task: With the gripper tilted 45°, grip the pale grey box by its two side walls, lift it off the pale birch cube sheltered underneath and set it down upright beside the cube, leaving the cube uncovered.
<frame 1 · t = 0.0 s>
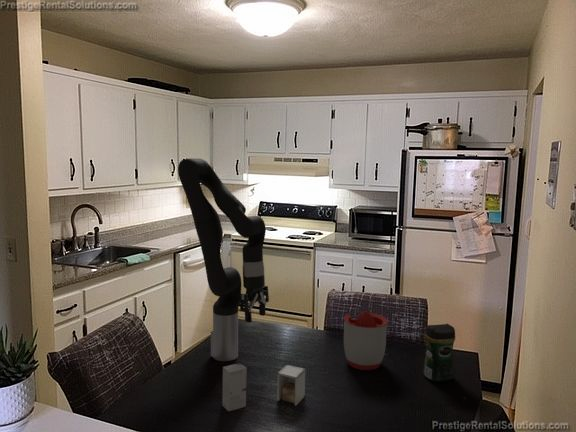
hand: (255, 318, 166), 17 cm above the table, tool pointing down, fingers open, 8 cm apart
cube: (291, 392, 145), in the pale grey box
skincare box: (234, 406, 140), on the table
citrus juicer: (362, 363, 172), on the table
coffee jar: (437, 377, 162), on the table
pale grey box: (291, 398, 145), on the table
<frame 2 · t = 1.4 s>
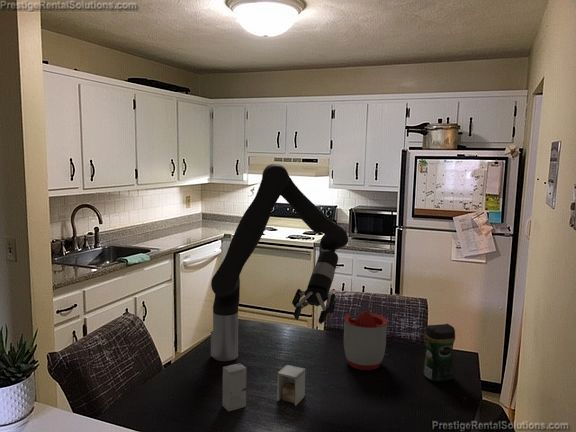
hand: (307, 320, 153), 21 cm above the table, tool tilted 45°, fingers open, 8 cm apart
nothing on the table moved.
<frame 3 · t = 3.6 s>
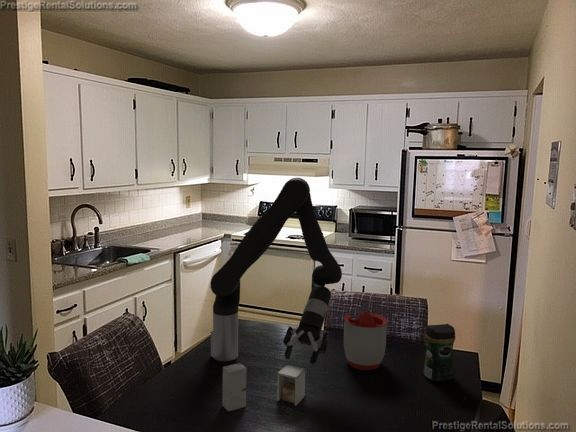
hand: (299, 361, 149), 10 cm above the table, tool tilted 45°, fingers open, 8 cm apart
nothing on the table moved.
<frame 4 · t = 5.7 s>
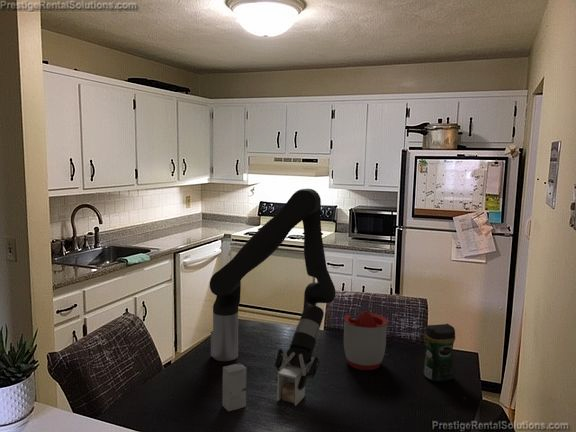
hand: (289, 386, 143), 5 cm above the table, tool tilted 45°, fingers closed on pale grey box, 6 cm apart
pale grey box: (291, 398, 145), on the table, touching gripper
everything else where it was.
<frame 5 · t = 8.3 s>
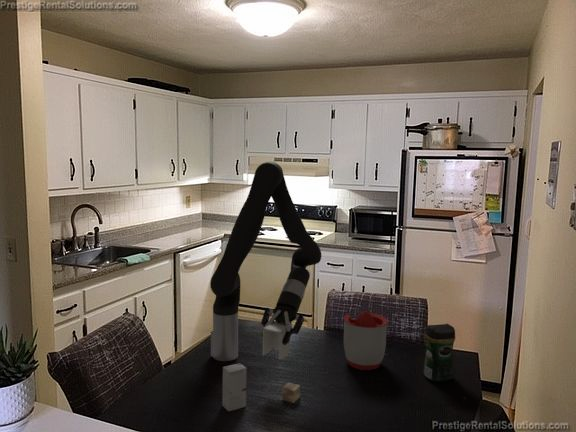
hand: (274, 341, 149), 16 cm above the table, tool tilted 45°, fingers closed on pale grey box, 6 cm apart
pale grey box: (276, 353, 151), point 11 cm above the table, touching gripper
everything else where it was.
when the fingers open (6 cm above the table, at t = 11.2 s): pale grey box stays where it is, on the table.
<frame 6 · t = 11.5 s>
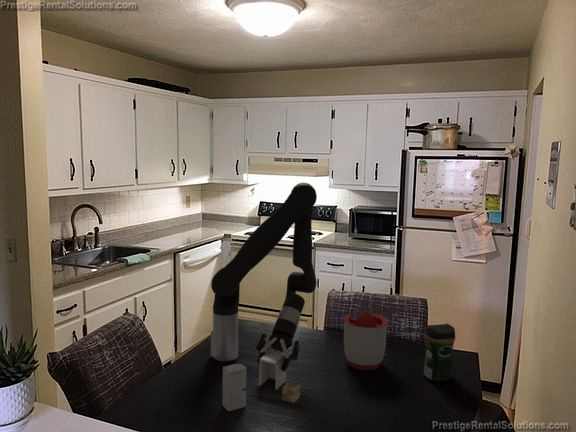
hand: (270, 367, 153), 6 cm above the table, tool tilted 45°, fingers open, 8 cm apart
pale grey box: (272, 383, 155), on the table
everything else where it was.
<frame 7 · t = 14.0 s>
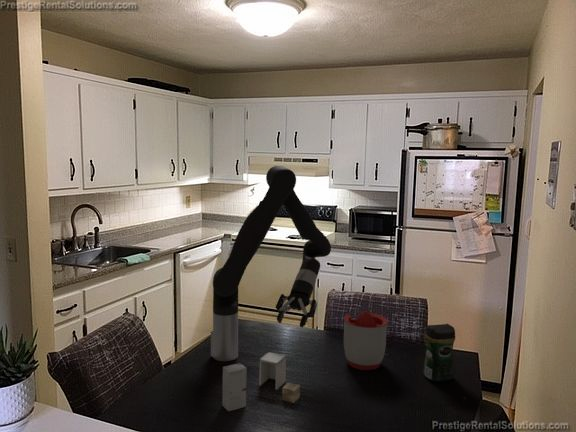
hand: (289, 324, 163), 16 cm above the table, tool tilted 45°, fingers open, 8 cm apart
nothing on the table moved.
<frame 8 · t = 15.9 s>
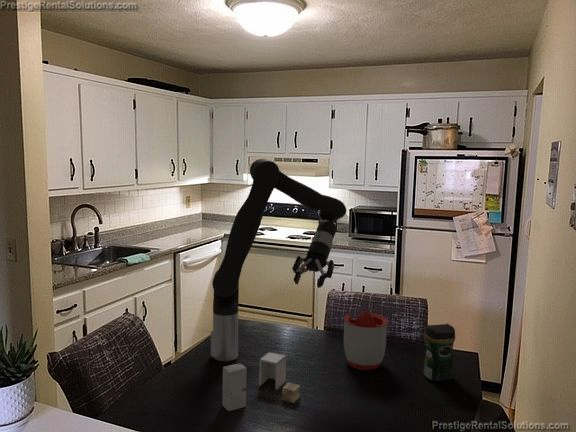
hand: (307, 284, 161), 31 cm above the table, tool tilted 45°, fingers open, 8 cm apart
nothing on the table moved.
at the end: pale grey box inside the target area on the table beside the cube (0.0 cm from its centre), on the table; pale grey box tilted 0°; cube moved 0.1 cm from its start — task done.
